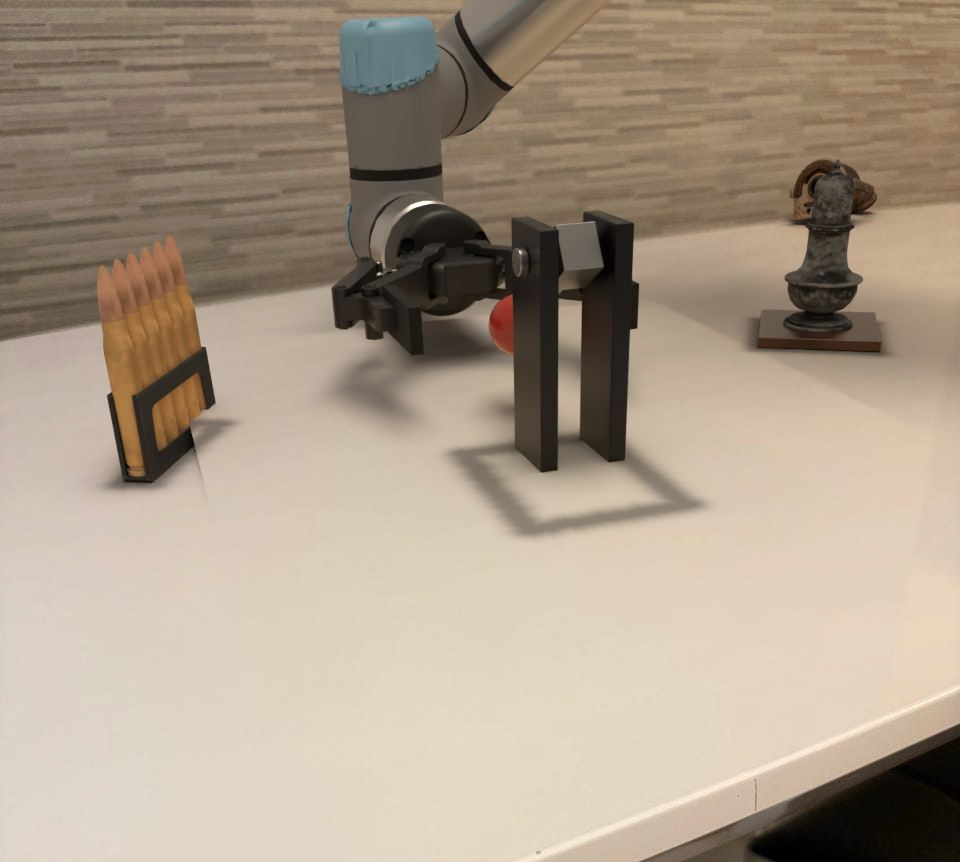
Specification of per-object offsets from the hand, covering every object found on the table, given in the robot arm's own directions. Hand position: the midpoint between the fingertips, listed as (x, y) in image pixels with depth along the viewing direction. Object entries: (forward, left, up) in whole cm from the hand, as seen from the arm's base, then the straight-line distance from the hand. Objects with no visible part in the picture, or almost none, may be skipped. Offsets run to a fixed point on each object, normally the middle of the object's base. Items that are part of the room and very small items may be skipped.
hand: (527, 319), depth 64 cm
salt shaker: (-18, -27, -7) cm, 33 cm away
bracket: (-4, +6, -7) cm, 10 cm away
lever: (-2, +3, 0) cm, 4 cm away
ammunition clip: (+21, +6, -8) cm, 23 cm away
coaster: (-18, -27, -7) cm, 33 cm away
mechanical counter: (-21, -81, -8) cm, 84 cm away
